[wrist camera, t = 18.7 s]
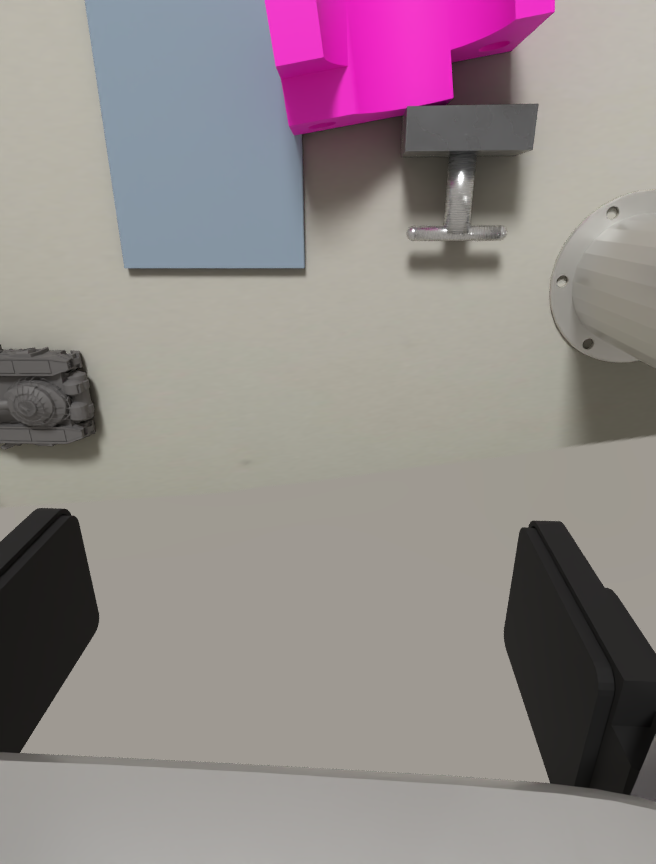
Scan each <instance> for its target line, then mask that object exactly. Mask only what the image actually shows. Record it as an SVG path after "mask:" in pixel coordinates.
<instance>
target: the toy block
mask: <svg viewBox="0 0 656 864" xmlns="http://www.w3.org/2000/svg"><path fill="white" fill-rule="evenodd" d="M265 6H266V12H267V18H268V24H269V30H270V36H271V42H272V48H273V54H274V60H275V66H276V69H277V71H278V73H279V76H280V78H281V82H282V88H283V95H284V101H285V107H286V113H287V119H288V125H289V128H290V129H291V131H292V133H293V135H294V136H295V135H300V134H305V133H311V132H316V131H322V130H327V129H332V128H338V127H343V126H348V125H354V124H359V123H364V122H370V121H375V120H381V119H386V118H391V117H397V116H402V115H403V114H404V112H405V110H406V108H407V106H442V105H446V104H447V103H449V102H450V101H451V100H452V99H453V81H452V65H451V63H452V62H457V61H463V60H468V59H473V58H478V57H483V56H489V55H494V54H499V53H504V52H509V51H512V50H513V49H514V48H515V47H516V46H517V45H518V44H520V43H521V42H522V41H523V40H524V39H525V38H526V37H527V36H528V35H530V34H531V33H532V32H533V31H534V30H535V29H536V28H537V27H538V26H539V25H541V24H542V23H543V22H544V21H545V20H546V19H547V18H548V17H549V16H550V15H552V14H553V13H554V12H555V0H265Z"/></svg>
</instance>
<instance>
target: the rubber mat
mask: <svg viewBox="0 0 656 864" xmlns="http://www.w3.org/2000/svg"><path fill="white" fill-rule="evenodd" d="M85 5H86V12H87V19H88V25H89V32H90V39H91V45H92V52H93V59H94V66H95V72H96V79H97V86H98V93H99V99H100V106H101V113H102V120H103V126H104V133H105V140H106V147H107V153H108V160H109V167H110V173H111V180H112V187H113V194H114V200H115V207H116V214H117V221H118V227H119V234H120V241H121V248H122V254H123V261H124V268H305V244H304V198H303V152H302V134H300V135H295V136H294V135H293V133H292V131H291V129H290V128H289V125H288V119H287V113H286V107H285V101H284V95H283V88H282V82H281V78H280V76H279V73H278V71H277V69H276V66H275V60H274V54H273V48H272V42H271V36H270V30H269V24H268V18H267V12H266V6H265V0H85Z"/></svg>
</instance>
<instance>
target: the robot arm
mask: <svg viewBox="0 0 656 864" xmlns="http://www.w3.org/2000/svg"><path fill="white" fill-rule="evenodd" d="M612 206H614V207H616V209H617V214H616V216H615V217H614V218H613V219H608V217H607V210H608V209H609V208H610V207H612ZM563 275H565V276H566V277H567V282H566V284H565V285H564V286H562V287H559V286H558V285H557V279H558V278H559V277H560V276H563ZM549 296H550V306H551V311H552V315H553V318H554V321H555V323H556V325H557V327H558V329H559V331H560V332H561V334H562V335H563V337H564V338H565V339H566V340H567V341H568V342H569V343H570V344H571V345H572V346H573V347H574V348H576V349H577V350H578V351H580V352H581V353H583V354H585V355H587V356H590V357H592V358H595V359H597V360H601V361H606V362H611V363H629V362H635V361H642V362H644V363H646V364H648V365H649V366H651V367H653V368H655V369H656V189H650V190H642V191H635V192H632V193H629V194H625V195H622V196H620V197H617V198H615V199H613V200H611V201H609V202H607V203H605V204H604V205H602V206H600V207H599V208H598V209H596V210H595V211H594V212H592V213H591V214H590V215H588V216H587V217H586V218H585V219H584V220H583V221H582V222H581V223H580V224H579V225H578V226H577V227H576V228H575V229H574V231H573V232H572V233H571V235H570V236H569V237H568V239H567V240H566V242H565V243H564V245H563V247H562V249H561V251H560V253H559V255H558V257H557V259H556V262H555V264H554V268H553V271H552V275H551V280H550V291H549ZM589 338H590V339H592V345H591V346H590V347H589V348H586V349H585V348H583V342H584V341H585V340H586V339H589ZM98 623H99V612H98V607H97V604H96V599H95V594H94V589H93V585H92V580H91V576H90V571H89V566H88V562H87V557H86V553H85V548H84V544H83V539H82V535H81V530H80V526H79V522H78V519H77V518H76V517H75V516H71V514H70V512H69V511H68V510H67V509H53V508H49V509H48V508H39V509H36V510H35V511H33V512H32V513H31V514H30V515H29V516H28V517H27V518H26V519H25V520H24V521H22V522H21V523H20V524H19V525H18V526H17V527H16V528H15V529H14V530H13V531H12V532H10V533H9V534H8V535H7V536H6V537H5V538H4V539H3V540H2V541H1V542H0V864H656V653H655V652H654V650H653V649H652V648H651V646H650V644H649V643H648V641H647V640H646V638H645V637H644V635H643V634H642V632H641V631H640V629H639V628H638V626H637V625H636V623H635V622H634V620H633V619H632V617H631V616H630V614H629V613H628V611H627V610H626V608H625V607H624V605H623V604H622V602H621V601H620V599H619V598H618V596H617V595H616V594H615V593H614V592H613V590H611V589H609V588H604V586H603V584H602V583H601V581H600V580H599V578H598V577H597V575H596V574H595V572H594V570H593V569H592V567H591V566H590V564H589V563H588V561H587V560H586V558H585V556H584V555H583V554H582V552H581V550H580V549H579V547H578V546H577V544H576V542H575V541H574V539H573V538H572V536H571V535H570V533H569V532H568V530H567V529H566V527H565V526H564V524H563V523H562V522H559V521H532V522H530V524H529V527H528V528H521V530H520V533H519V538H518V544H517V551H516V557H515V563H514V570H513V576H512V582H511V589H510V595H509V602H508V608H507V614H506V621H505V627H504V642H505V647H506V650H507V653H508V656H509V659H510V662H511V665H512V669H513V671H514V674H515V677H516V680H517V684H518V687H519V690H520V693H521V696H522V699H523V702H524V705H525V708H526V711H527V714H528V717H529V720H530V723H531V726H532V729H533V732H534V735H535V738H536V741H537V744H538V747H539V750H540V753H541V756H542V759H543V762H544V765H545V768H546V771H547V775H548V778H549V780H550V783H539V782H527V781H513V780H499V779H487V778H473V777H460V776H459V777H458V776H446V775H429V774H411V773H395V772H377V771H360V770H343V769H324V768H308V767H289V766H270V765H252V764H233V763H214V762H195V761H175V760H154V759H136V758H135V759H134V758H114V757H92V756H71V755H49V754H27V753H20V752H21V750H22V748H23V747H24V745H25V744H26V742H27V741H28V739H29V737H30V736H31V734H32V733H33V731H34V729H35V728H36V726H37V725H38V723H39V721H40V720H41V718H42V717H43V715H44V713H45V712H46V710H47V708H48V707H49V706H50V704H51V702H52V701H53V699H54V698H55V696H56V694H57V693H58V691H59V689H60V688H61V686H62V685H63V683H64V681H65V680H66V678H67V677H68V675H69V674H70V672H71V670H72V669H73V667H74V666H75V664H76V662H77V661H78V659H79V658H80V656H81V655H82V653H83V651H84V650H85V648H86V647H87V645H88V643H89V642H90V640H91V639H92V637H93V635H94V634H95V632H96V630H97V627H98Z"/></svg>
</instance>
